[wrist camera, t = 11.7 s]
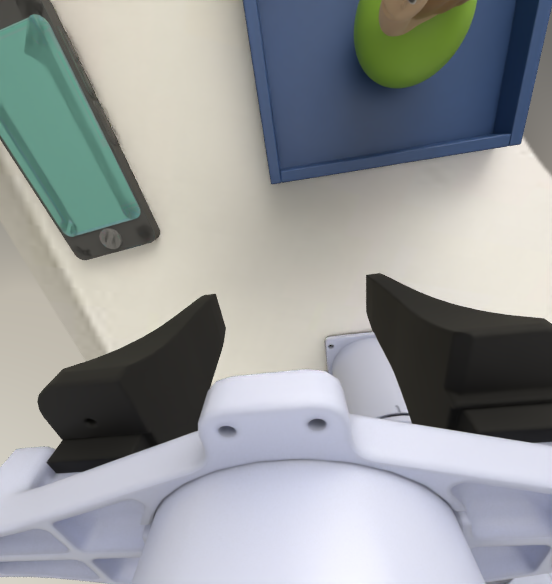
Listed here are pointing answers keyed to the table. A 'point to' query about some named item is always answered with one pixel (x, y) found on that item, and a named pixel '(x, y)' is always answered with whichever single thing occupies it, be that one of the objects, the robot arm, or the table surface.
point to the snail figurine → (409, 37)
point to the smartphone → (65, 136)
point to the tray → (386, 89)
